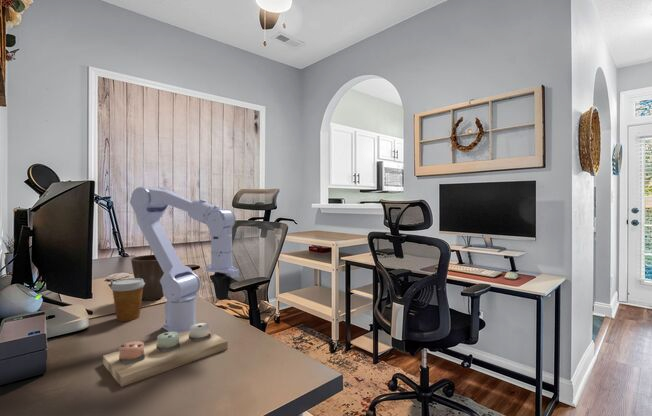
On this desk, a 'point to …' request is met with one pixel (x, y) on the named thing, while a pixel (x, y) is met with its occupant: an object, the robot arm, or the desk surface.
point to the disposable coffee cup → (127, 298)
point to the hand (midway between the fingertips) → (222, 299)
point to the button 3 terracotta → (131, 350)
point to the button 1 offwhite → (199, 330)
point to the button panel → (162, 357)
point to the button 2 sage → (167, 339)
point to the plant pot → (148, 276)
